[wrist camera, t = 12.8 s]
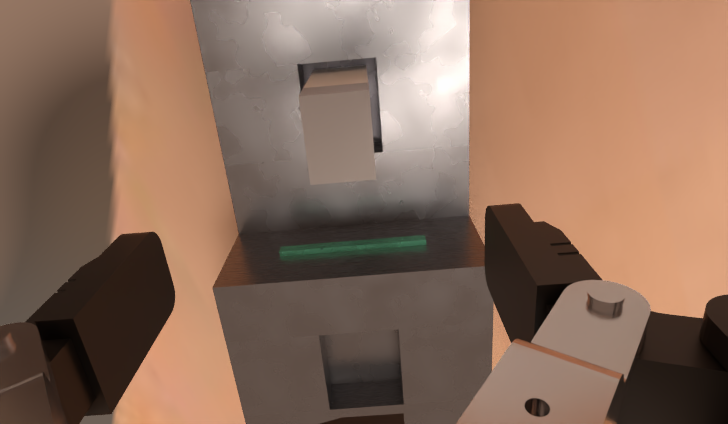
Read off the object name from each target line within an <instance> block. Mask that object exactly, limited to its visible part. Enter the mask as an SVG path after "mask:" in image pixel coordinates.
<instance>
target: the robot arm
mask: <svg viewBox="0 0 728 424" xmlns="http://www.w3.org/2000/svg"><path fill="white" fill-rule="evenodd" d="M484 266H485V277H486V282H487V286H488V289H489V292H490V294H491V297H492V299H493V301H494V304H495V306H496V308H497V311H498V313H499V315H500V318H501V320H502V322H503V325H504V327H505V329H506V332H507V334H508V336H509V339H510V341H511V345H510V346H509V347H508V349H507V350H506V352H505V353H504V355H503V356H502V358H501V359H500V360H499V362H498V363H497V365H496V366H495V368H494V369H493V371H492V372H491V374H490V375H489V376H488V378H487V379H486V381H485V382H484V384H483V385H482V387H481V388H480V390H479V391H478V392H477V394H476V395H475V397H474V398H473V400H472V401H471V403H470V404H469V406H468V407H467V408H466V410H465V411H464V413H463V414H462V416H461V417H460V419H459V420H458V422H457V423H456V424H728V295H722V296H717V297H715V298H713V299H711V300H710V301H709V302H708V303H707V305H706V308H705V313H704V317H703V318H694V317H686V316H677V315H669V314H662V313H656V312H652V311H650V310H651V309H650V305H649V303H648V301H647V300H646V299H645V298H644V297H643V296H642V295H641V294H640V293H638V292H636V291H635V290H633V289H631V288H629V287H627V286H624V285H621V284H618V283H614V282H610V281H603V280H602V279H601V278H600V276H599V275H598V274H597V273H596V272H595V271H594V269H593V268H592V267H591V266H590V265H589V263H588V262H587V261H586V260H585V259H584V257H583V256H582V255H581V254H579V251H578V250H577V249H576V248H575V247H574V245H573V244H571V242H570V241H569V239H568V238H567V237H566V236H565V235H564V233H563V232H562V231H561V230H559V229H557V228H555V227H553V226H552V225H550V224H548V223H546V222H544V221H543V222H533V220H532V219H531V218H530V216H529V215H528V214H527V212H526V211H525V210H524V208H523V207H522V206H521V205H520V204H519V203H518V204H506V205H493V206H487V208H486V214H485V260H484ZM57 291H58V293H54V294H53V295H52V296H51V297H50V298H49V299H48V300H47V301H46V302H45V303H44V304H43V305H42V306H41V307H40V308H39V309H38V310H37V311H36V312H35V313H34V314H33V315H32V316H31V317H30V318H29V319H28V320H27V321H26V322H17V323H10V324H6V325H2V326H0V424H79V423H80V422H81V420H82V419H83V417H84V416H90V415H105V414H112V412H113V410H114V409H115V407H116V405H117V404H118V402H119V400H120V399H121V397H122V395H123V394H124V392H125V390H126V389H127V387H128V385H129V383H130V382H131V380H132V378H133V377H134V375H135V373H136V372H137V370H138V368H139V367H140V365H141V363H142V362H143V360H144V358H145V357H146V355H147V353H148V351H149V350H150V348H151V346H152V345H153V343H154V341H155V340H156V338H157V336H158V335H159V333H160V331H161V330H162V328H163V326H164V325H165V323H166V321H167V319H168V318H169V316H170V314H171V313H172V311H173V308H174V303H175V290H174V285H173V281H172V278H171V274H170V271H169V267H168V264H167V261H166V257H165V254H164V250H163V247H162V243H161V240H160V238H159V236H158V235H157V234H156V233H155V232H145V233H132V234H122V235H120V236H119V237H118V238H117V239H116V240H115V241H114V242H113V243H112V244H111V245H110V246H109V247H108V248H107V249H106V250H105V251H104V252H103V253H102V254H101V255H100V256H99V257H97V258H96V259H94V260H92V261H90V262H89V263H87V264H85V265H84V266H82V267H81V268H80V269H79V270H78V271H77V272H76V273H75V274H74V275H73V276H72V277H71V278H70V279H69V280H68V282H66V283H64V284H63V285H62V286H61V287H60V288H59V289H58V290H57ZM320 424H405V423H404V413H401V414H386V415H371V416H356V417H342V418H338V419H335V420H331V421H327V422H324V423H320Z"/></svg>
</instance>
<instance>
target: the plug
mask: <svg viewBox="0 0 728 424" xmlns="http://www.w3.org/2000/svg"><path fill="white" fill-rule="evenodd" d="M298 98H299V105H300V112H301V120H302V127H303V134H304V142H305V149H306V156H307V164H308V171H309V178H310V185H316V184H328V183H340V182H352V181H364V180H376V169H375V157H374V144H373V131H372V118H371V105H370V93H369V84H368V76H367V68H366V65H363V66H352V67H341V68H329V69H318V70H313V72H312V74H311V75H310V77H309V79H308V81H307V82H306V84H305V86H304V87H303V89H302V91H301V93H300V94H299V96H298Z"/></svg>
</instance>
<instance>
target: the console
mask: <svg viewBox="0 0 728 424" xmlns="http://www.w3.org/2000/svg"><path fill="white" fill-rule="evenodd" d="M190 2H191V7H192V12H193V17H194V21H195V26H196V31H197V36H198V41H199V45H200V50H201V55H202V60H203V64H204V69H205V74H206V79H207V84H208V88H209V93H210V98H211V103H212V107H213V112H214V117H215V122H216V126H217V131H218V136H219V141H220V146H221V150H222V155H223V160H224V165H225V169H226V174H227V179H228V184H229V189H230V193H231V198H232V203H233V208H234V212H235V217H236V222H237V227H238V231H239V235H238V237H237V239H236V241H235V243H234V245H233V247H232V249H231V251H230V253H229V255H228V257H227V259H226V262H225V264H224V266H223V268H222V270H221V272H220V274H219V276H218V278H217V280H216V282H215V284H214V286H213V292H214V296H215V300H216V304H217V308H218V312H219V316H220V320H221V324H222V328H223V332H224V337H225V341H226V345H227V349H228V353H229V357H230V361H231V365H232V369H233V373H234V377H235V381H236V385H237V389H238V393H239V397H240V402H241V406H242V410H243V414H244V418H245V422H246V424H320V423H324V422H327V421H331V420H335V419H338V418H342V417H356V416H371V415H386V414H401V413H404V423H405V424H456V423H457V422H458V420H459V419H460V417H461V416H462V414H463V413H464V411H465V410H466V408H467V407H468V406H469V404H470V403H471V401H472V400H473V398H474V397H475V395H476V394H477V392H478V391H479V390H480V388H481V387H482V385H483V384H484V382H485V381H486V379H487V378H488V376H489V375H490V374H491V372H492V337H493V299H492V297H491V294H490V292H489V289H488V286H487V282H486V277H485V266H484V260H485V246H484V244H483V242H482V240H481V238H480V236H479V234H478V232H477V230H476V228H475V226H474V224H473V222H472V220H471V218H470V216H469V8H470V0H190ZM363 65H366V68H367V76H368V84H369V93H370V105H371V118H372V131H373V144H374V157H375V169H376V180H364V181H352V182H340V183H328V184H316V185H310V178H309V171H308V164H307V156H306V149H305V142H304V134H303V127H302V120H301V112H300V105H299V98H298V96H299V94H300V93H301V91H302V89H303V87H304V86H305V84H306V82H307V81H308V79H309V77H310V75H311V74H312V72H313V70H318V69H329V68H341V67H352V66H363Z"/></svg>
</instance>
